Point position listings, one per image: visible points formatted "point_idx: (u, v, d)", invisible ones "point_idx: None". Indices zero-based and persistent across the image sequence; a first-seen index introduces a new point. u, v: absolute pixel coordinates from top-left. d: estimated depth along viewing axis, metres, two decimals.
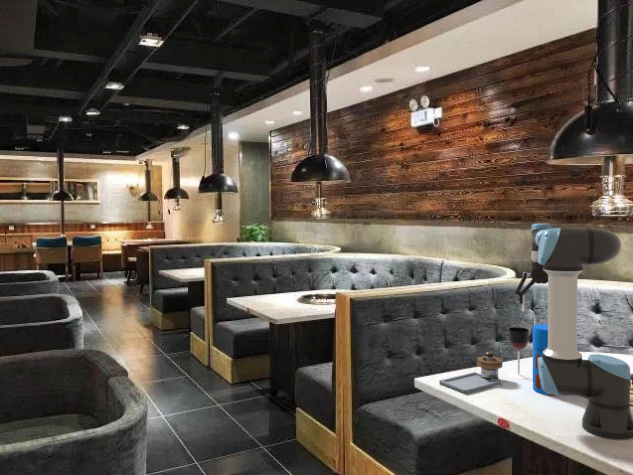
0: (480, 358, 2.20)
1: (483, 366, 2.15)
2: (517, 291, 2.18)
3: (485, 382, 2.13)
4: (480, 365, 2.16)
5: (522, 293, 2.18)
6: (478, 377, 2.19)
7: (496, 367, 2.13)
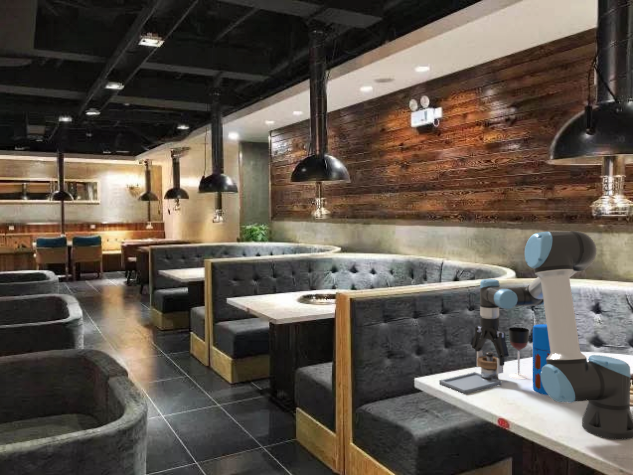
0: (480, 358, 2.20)
1: (483, 366, 2.15)
2: (473, 345, 2.24)
3: (485, 382, 2.13)
4: (480, 365, 2.16)
5: (476, 348, 2.22)
6: (478, 377, 2.19)
7: (496, 367, 2.13)
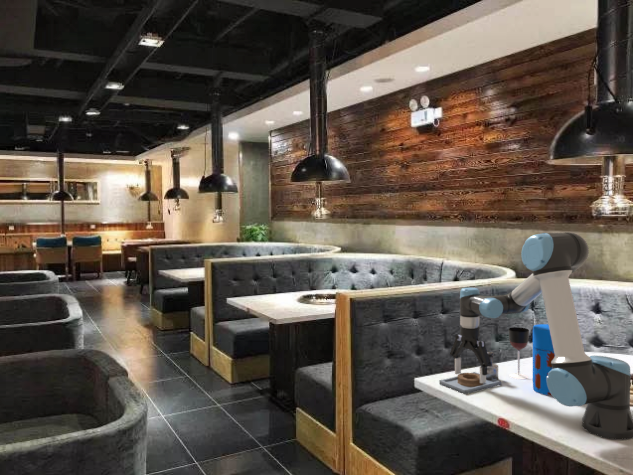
0: (460, 375, 2.14)
1: (463, 384, 2.09)
2: (451, 352, 2.20)
3: (485, 382, 2.13)
4: (460, 382, 2.11)
5: (454, 355, 2.18)
6: None
7: (476, 385, 2.08)
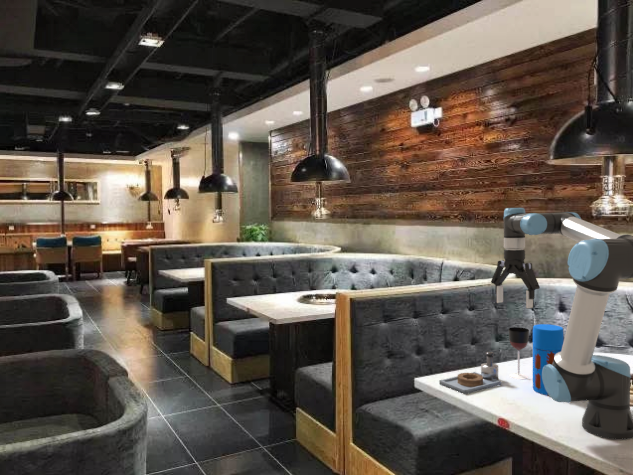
0: (460, 375, 2.14)
1: (463, 384, 2.09)
2: (492, 280, 2.05)
3: (485, 382, 2.13)
4: (460, 382, 2.11)
5: (496, 282, 2.03)
6: None
7: (476, 385, 2.08)
